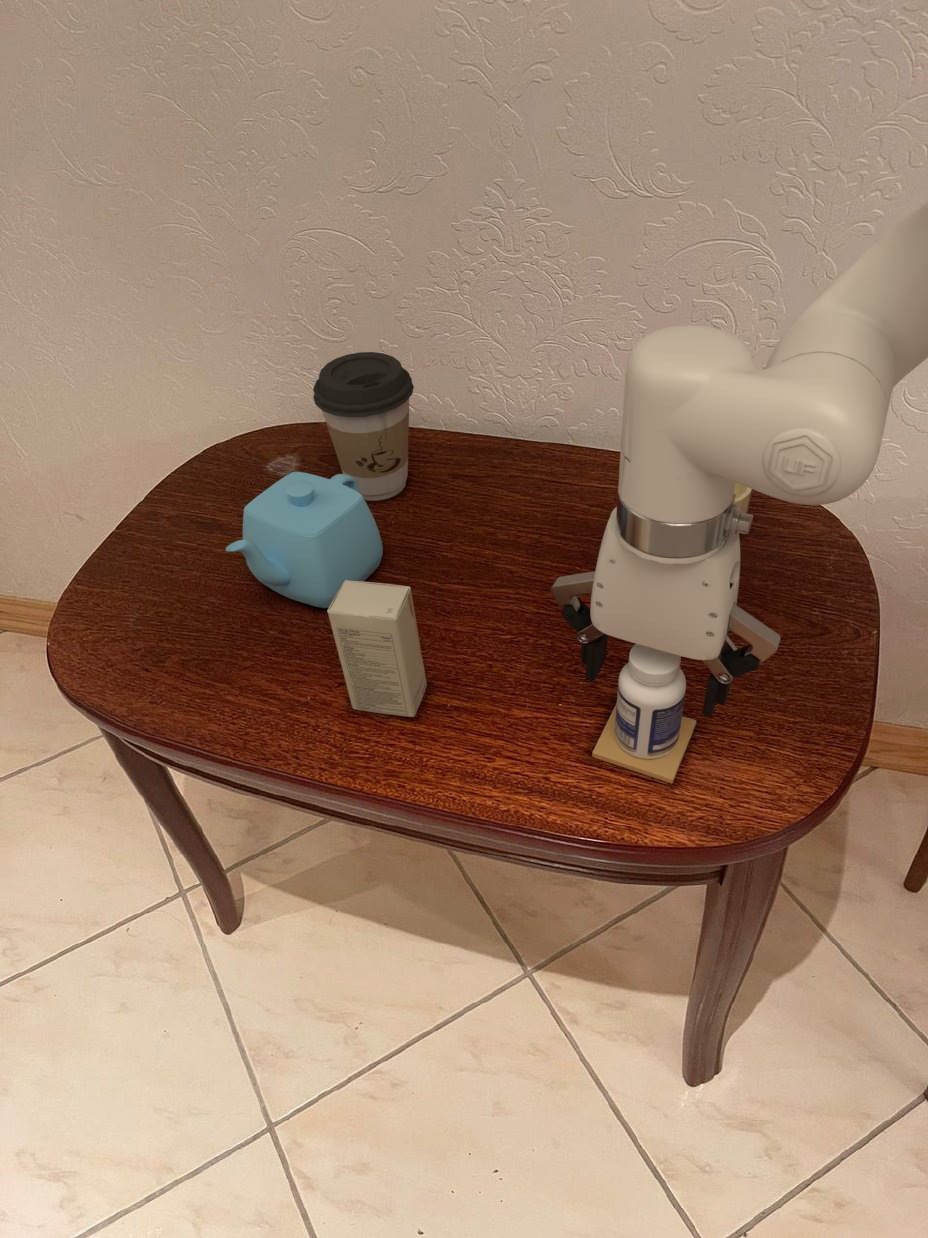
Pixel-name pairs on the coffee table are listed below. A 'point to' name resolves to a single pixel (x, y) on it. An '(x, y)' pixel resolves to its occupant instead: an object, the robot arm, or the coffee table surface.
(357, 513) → the teapot
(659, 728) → the pill bottle
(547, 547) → the coffee table surface
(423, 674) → the cosmetic box
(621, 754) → the mat
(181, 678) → the coffee table surface
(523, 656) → the coffee table surface
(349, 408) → the coffee cup
